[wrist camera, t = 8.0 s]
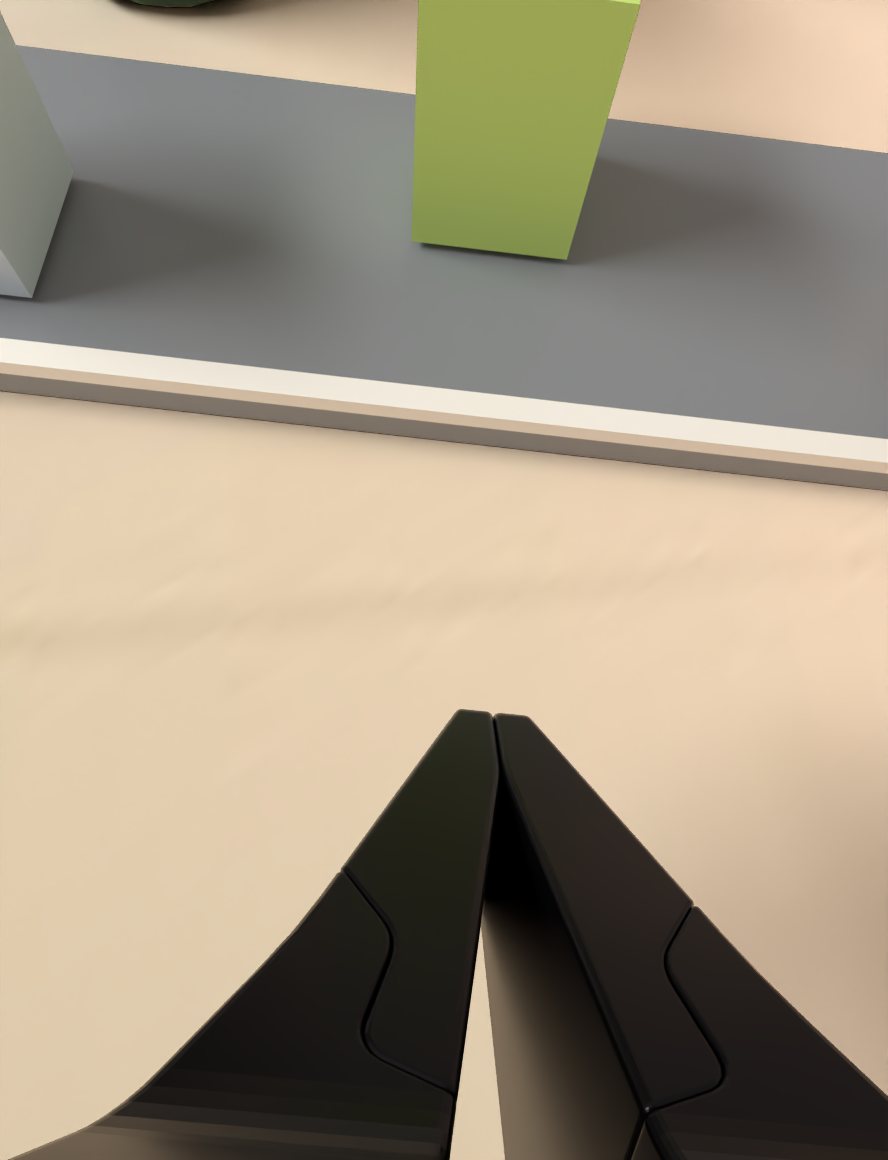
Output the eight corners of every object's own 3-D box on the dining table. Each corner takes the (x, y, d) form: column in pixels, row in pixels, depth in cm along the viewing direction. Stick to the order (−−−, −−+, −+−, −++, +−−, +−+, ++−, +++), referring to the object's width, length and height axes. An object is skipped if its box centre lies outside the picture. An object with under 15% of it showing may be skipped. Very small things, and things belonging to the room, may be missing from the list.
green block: (566, 259, 25) (640, 4, 18) (411, 241, 25) (419, -25, 18) (572, 142, 27) (641, -136, 19) (426, 125, 27) (440, -163, 19)
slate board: (1100, 514, 25) (1146, 492, 23) (-190, 369, 24) (-229, 336, 22) (1033, 196, 29) (1068, 159, 28) (-57, 61, 28) (-83, 16, 27)
